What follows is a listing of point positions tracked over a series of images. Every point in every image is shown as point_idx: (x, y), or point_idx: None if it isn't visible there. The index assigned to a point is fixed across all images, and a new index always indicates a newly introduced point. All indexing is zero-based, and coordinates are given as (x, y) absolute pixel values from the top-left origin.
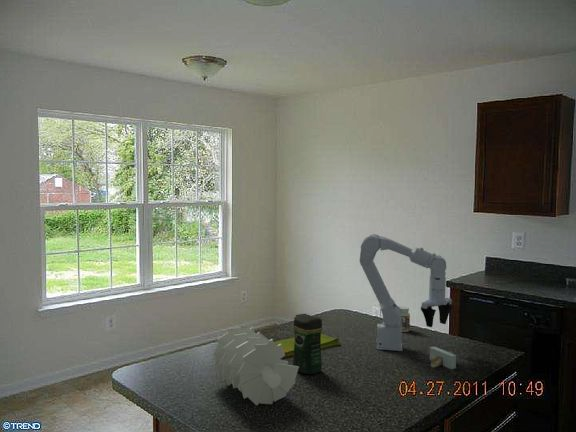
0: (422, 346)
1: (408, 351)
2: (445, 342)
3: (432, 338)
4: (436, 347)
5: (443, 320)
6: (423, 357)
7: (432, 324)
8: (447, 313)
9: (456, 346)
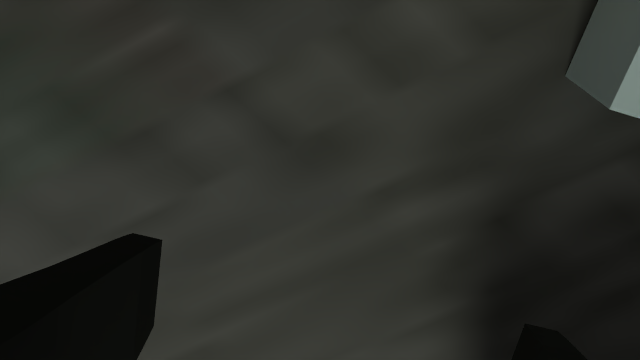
0: (292, 317)
1: None
2: (13, 218)
3: None
4: (629, 70)
5: (128, 300)
6: (597, 174)
7: (552, 348)
8: (2, 325)
9: (22, 89)
